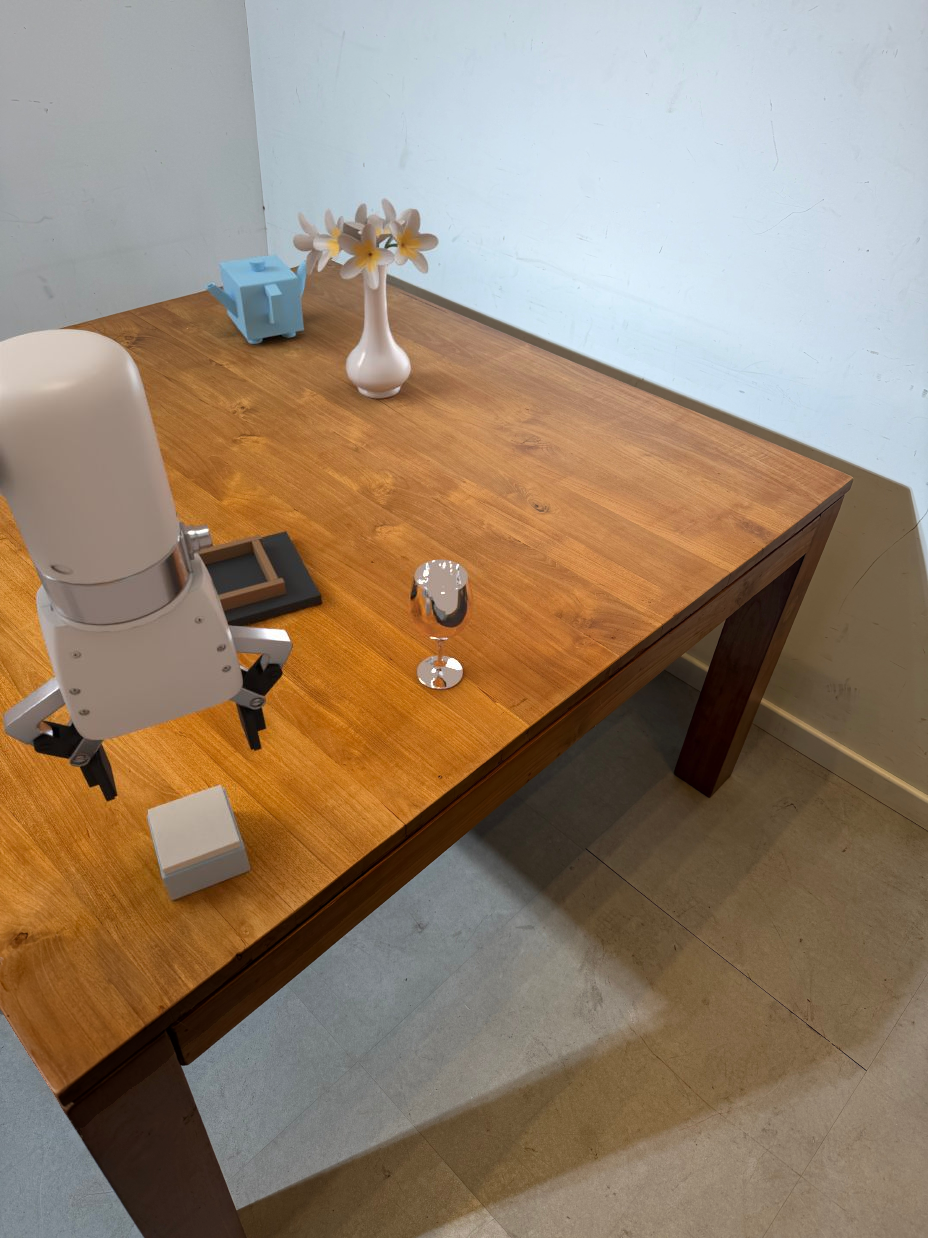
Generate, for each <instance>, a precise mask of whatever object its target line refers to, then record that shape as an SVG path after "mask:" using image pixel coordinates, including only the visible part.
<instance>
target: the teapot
mask: <svg viewBox="0 0 928 1238" xmlns="http://www.w3.org/2000/svg"><path fill="white" fill-rule="evenodd" d="M218 265H219V271H220V276H221V283H222V288H223V289H222V288H221V287H219V285H217V284H216V283H214V282H210V283H208V284H207V285H206V284H205V286H204V288H205V289H206V290H207V292H209V294H211V295H212V296H213V297H214V298H215V300H217V301H218V302H219V303H220V304H221V305H222V306H223V307H224V308H225V309H226V314H227V315H228V317H229V318H230V320H232V322H233V324H234V325H235V326H236V327H237V329H238V330H239V331H240V333H241V334H242V335H243V336H244V337H245V339H246V340H247V342H248V344H252V345H256V344H260V343H262V342H263V341H264V340H263V339H264V338H269V337H270V338H271V337H275V336H280V335H281V336H282V337H283V338H287V339H288V338H289V339H290V338H293V337H295V336H296V334H297V332H303V331H305V326H304V317H303V307H302V297H303V296H304V291H305V287H306V278H307V275H308V274H307V272H306V259H305V260H303V261H301V263H300V264H299V265H298V267H297V270H296V274H295V272H293V270H292V269H291V268H290V267H289V266H288V265H287V264H286V263H285V262H284V261H283V260H282V258H280V257H279V256H277V254H268V255H262V256H253V257H247V258H241V259H234V260H228V261H221V262H219V264H218Z"/></svg>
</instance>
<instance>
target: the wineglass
mask: <svg viewBox="0 0 928 1238" xmlns="http://www.w3.org/2000/svg"><path fill="white" fill-rule="evenodd" d="M407 602H408V603H407V605H408V615H409V619H410V620H411V623H412V626H413V627H414V628H415V629H416V630H417V631H418V632H419V633H420V634H421V635H423V636H425V637H427V638H429V639H433V640H434V642H435V644H436V648H437V654H436V655H431V656H428V657H425V658H424V659H423V660H421V661H420V662H419V663H418V665H417V667H416V678H417V679H418V681H419V682H420V683H421V684H422V685H424V686H425V687H427V688H430V689H432V690H447V689H450V688H452V687H455V686H456V685H458V683H460V681H462V679H463V676H464V670H463V666H462V665H461V663H460V662H459V661H458V660H456V659H455V658H453V657H451V656H448V655H443V651H444V645H445V643H446V640H448V639H452V638H455V637H457V636H459V635H460V634H462V633H463V632H464V631H465V630H466V628H467V627H468V626H469V624H470V622H471V619H472V616H473V613H474V597H473V589H472V585H471V582H470V577H469V574H468V572H467V570H466V569H465V568H464V566H462V565H461V564H459V563H458V562H456V561H453V560H448V559H433V560H428V561H426V562H423V563H422V564H421V565H419V566H418V567H417V568H416V570H415V572H414V574H413V577H412V581H411V584H410V589H409V594H408V601H407Z"/></svg>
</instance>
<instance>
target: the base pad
mask: <svg viewBox="0 0 928 1238" xmlns="http://www.w3.org/2000/svg"><path fill="white" fill-rule="evenodd" d="M200 551H201V552H200V553H198V554H199V556H200V558H201V559H202V561H203V563H204V565H205V566H206V568H207V570H208V572H209V574H210V576H211V579H212V581H213V584H214V586H215V589H216V591H217V594H218V596H219V599H220V602H221V605H222V608H223V611H224V614H225V617H226V620H227V623H228V625H230V626H242V627H245V626H247V625H251V624H254V623H258V622H262V621H265V620H269V619H271V618H275V617H280V616H282V615H285V614H289V613H293V612H297V611H300V610H303V609H307V608H310V607H314V606H317V605H321V604H323V600H322V594H321V592H320V590H319V588H318V586H317V585H316V583H315V581H314V579H313V577H312V575H311V574H310V573H309V570H308V568H307V567H306V565H305V563H304V561H303V559H302V558H301V556H300V554H299V552H298V550H297V548H296V546H295V545H294V543H293V541H292V539H291V537H290V535H289V533H288V532H287V531H286V530H285V531H281V532H277V533H273V534H269V535H265V536H262V535H261V534H256V535H253V536H248V537H244V538H241V539H237V540H232V541H228V542H224V543H221V544H217V545H216V544H215V545H213V547H210V548H206V549H202V550H200Z"/></svg>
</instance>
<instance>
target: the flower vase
mask: <svg viewBox="0 0 928 1238" xmlns="http://www.w3.org/2000/svg"><path fill="white" fill-rule="evenodd" d="M367 206H368V205H367V204H366V203H365V202H363V203H361V204H360V205H359V206H358V208H357V209H356V211H355V215H354V221H350V220H349V221H345V220H344V216H343V215H341V216H339V218H337V221H336V220H335V218H334V215H333V213H332V211H331V209H329V208H327V209H326V211H325V213H324V227H325V229H326V232H327V233H320V232H319V230H318V227H317V225H315V224H313V225H312V224H311V223H310V222H309V220H308V219H307V217H305V215H304V214H303V213H302V212H301V211H299V212H298V213H297V217H298V218H297V219H298V222H299V225H300V227H301V229H302V230H303V232H304V233H301V234H296V235H294V236H293V238H292V243H293V244H292V245H293V246H294V247H295V248H296V249H297V250H298V251H301V252H305V253H306V252H308V253H307V255H306V258H305V260H306V272H307V274H306V275H307V276H310V275H311V274H312V273H313V271H314V268H315V266H316V264H317V272H318V273H320V272H322V271H323V270H324V269H325V268H326V267H327V265H328V264H329V263H330V262H331V261H332V260H333V261H337V259H338V258H339V255H340V253H341V251H344V252H345V253H346V254H347V255H350V256H352V257H350V258H349V259H347V260H346V261H345V262H344V263H343V265H342V266H341V268H340V273H339V274H340V277H341V278H342V279H343V280H352V279H353V278H356V277H357V276H358V275H360V274H361V279H362V285H363V286H362V287H363V305H364V308H363V310H364V311H363V312H364V314H363V316H364V317H363V318H364V321H363V329H362V333H361V336H360V339H359V342H358V343H357V344H356V346H355V347H353V349H352V350H351V351H350V352H349V354H348V355H347V358H346V361H345V373H346V375H347V378H348V380H350V382H351V383H352V384H353V385H354V386H356V387H357V390H358V392H359V393H360V394H361V395H363V396H365V397H366V398H370V399H375V400H377V399H379V400H380V399H388V398H391V397H393V396H396V395H397V394H398V393H399V392H400V391H401V387H402V386H403V384H404V383H406V382H407V380H408V379H409V377H410V375H411V373H412V364H411V361H410V358H409V356H408V354H407V353H406V351H405V350H404V349H403V348H402V347H401V346H400V345H399V344H397V342H396V340H395V339H394V336H393V334H392V332H391V328H390V324H389V323H390V322H389V315H388V302H387V275H388V267H389V265H391V264H392V263H395V264H396V265H397V266H404V265H405V264H407V262H408V261H409V260H410V261H411V263H412V264H413V265H414V267H415V268H416V269H417V270H418V271H419V272H420V273H422V274H423V275H426V274H428V273H429V270H430V269H429V263H428V260H427V258H426V256H425V255H424V254H423V252H427V251H431V250H434V249H435V248H436V247H438V245H439V241H440V240H439V238H438V236H436V235H435V234H433V233H428V232H424V233H423V232H422V233H421V232H420V229H421V214H420V212H419V210H418V209H416V208H413V207H409V208H408V207H407V208H405V209H403V211H402V212H400V214H399V215H398V217H397V211H396V209H395V207H394V205H393V204H392V203H391V202H390V201H389V200H388V199H387V198H385V197H384V198H382V199H381V208H382V210H383V214H384V218H383V217H381V216H380V213H379V212H374V213H373V214H370V215H368V207H367ZM384 241H386V242H385V243H384V246H383V247H380V244H381V243H383V242H384ZM393 241H395V242H396V243H392V242H393ZM389 248H395V251H394V252H393V251H391V250H390V249H389Z"/></svg>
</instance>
